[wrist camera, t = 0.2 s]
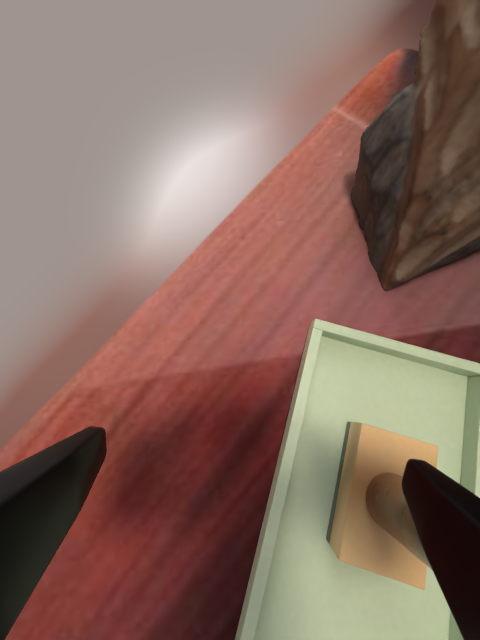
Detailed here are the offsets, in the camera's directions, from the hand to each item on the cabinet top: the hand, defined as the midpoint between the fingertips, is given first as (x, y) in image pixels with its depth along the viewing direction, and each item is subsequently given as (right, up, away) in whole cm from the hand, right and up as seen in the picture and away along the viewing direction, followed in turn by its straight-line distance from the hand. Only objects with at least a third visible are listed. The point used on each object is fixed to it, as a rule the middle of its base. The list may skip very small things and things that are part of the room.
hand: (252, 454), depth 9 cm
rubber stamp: (+9, -8, +12) cm, 17 cm away
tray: (+8, -10, +12) cm, 18 cm away
